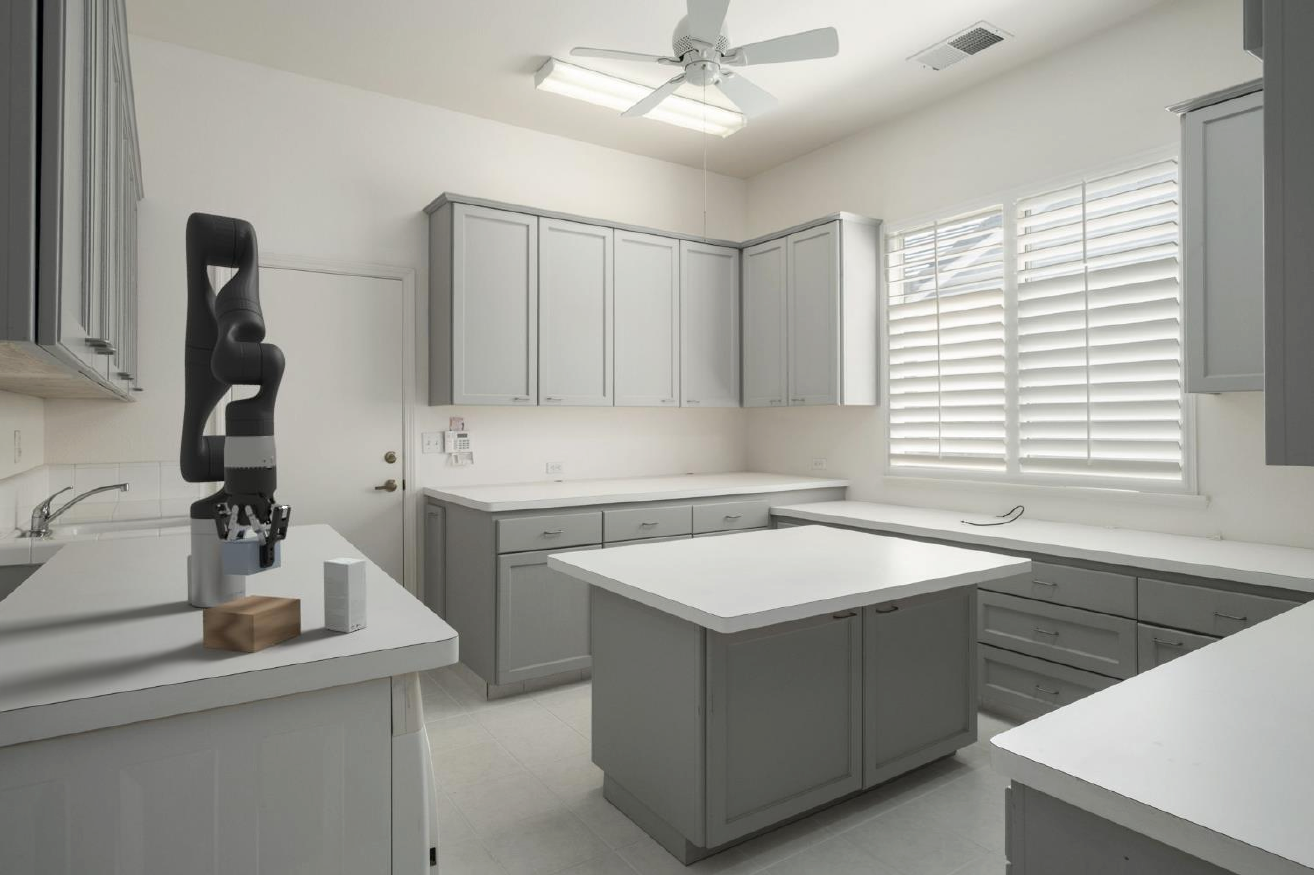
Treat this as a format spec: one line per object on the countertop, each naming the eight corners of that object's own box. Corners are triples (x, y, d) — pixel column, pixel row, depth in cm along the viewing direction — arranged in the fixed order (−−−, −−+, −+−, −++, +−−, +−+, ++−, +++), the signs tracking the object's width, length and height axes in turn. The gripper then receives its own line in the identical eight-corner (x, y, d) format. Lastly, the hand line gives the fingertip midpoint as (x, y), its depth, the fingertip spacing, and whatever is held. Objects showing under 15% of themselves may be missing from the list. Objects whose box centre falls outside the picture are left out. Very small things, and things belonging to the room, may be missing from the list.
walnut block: (203, 647, 117) (202, 610, 117) (253, 629, 126) (252, 595, 126) (254, 652, 114) (253, 614, 114) (300, 633, 124) (300, 599, 124)
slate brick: (222, 574, 117) (221, 543, 117) (255, 565, 124) (255, 536, 124) (248, 575, 116) (247, 544, 116) (280, 566, 123) (280, 537, 123)
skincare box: (367, 627, 128) (367, 559, 128) (348, 633, 124) (347, 564, 124) (343, 622, 131) (342, 556, 130) (323, 629, 127) (322, 561, 126)
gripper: (196, 464, 118) (198, 568, 118) (268, 466, 114) (270, 573, 114) (234, 461, 125) (236, 559, 125) (303, 463, 121) (305, 564, 122)
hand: (252, 565), depth 120 cm, fingers closed on slate brick, 5 cm apart
